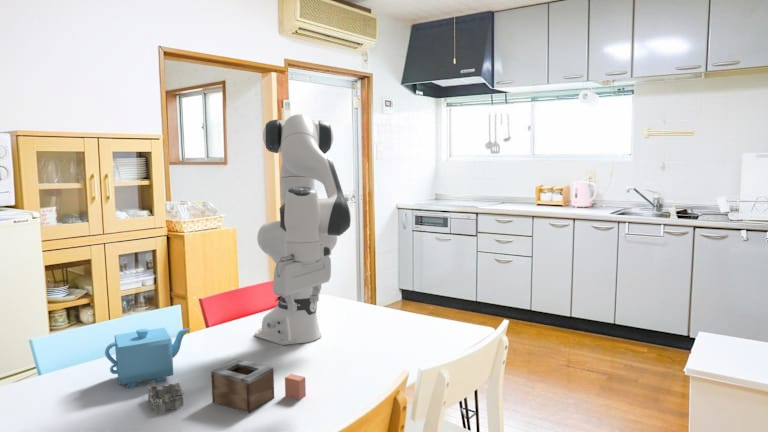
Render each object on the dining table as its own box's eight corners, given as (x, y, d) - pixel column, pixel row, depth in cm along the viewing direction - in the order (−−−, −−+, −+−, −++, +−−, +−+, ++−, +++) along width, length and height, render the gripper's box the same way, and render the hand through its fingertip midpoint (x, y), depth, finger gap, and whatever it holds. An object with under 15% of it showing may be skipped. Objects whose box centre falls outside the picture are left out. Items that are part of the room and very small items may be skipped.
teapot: (108, 393, 142) (105, 341, 140) (105, 378, 151) (102, 329, 149) (197, 376, 152) (195, 328, 151) (189, 363, 162) (187, 317, 160)
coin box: (212, 402, 137) (211, 371, 136) (237, 388, 145) (236, 359, 144) (249, 412, 131) (248, 380, 130) (274, 397, 139) (273, 367, 138)
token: (285, 396, 140) (284, 377, 140) (291, 392, 142) (290, 373, 142) (299, 399, 138) (299, 380, 137) (305, 395, 140) (305, 377, 140)
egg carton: (146, 399, 139) (146, 383, 139) (178, 392, 143) (177, 377, 142) (152, 416, 130) (152, 399, 130) (186, 408, 134) (185, 392, 133)
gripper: (287, 259, 128) (288, 317, 129) (334, 247, 146) (335, 298, 147) (266, 257, 131) (267, 314, 132) (315, 246, 149) (315, 296, 150)
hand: (303, 306), depth 140 cm, fingers open, 8 cm apart
